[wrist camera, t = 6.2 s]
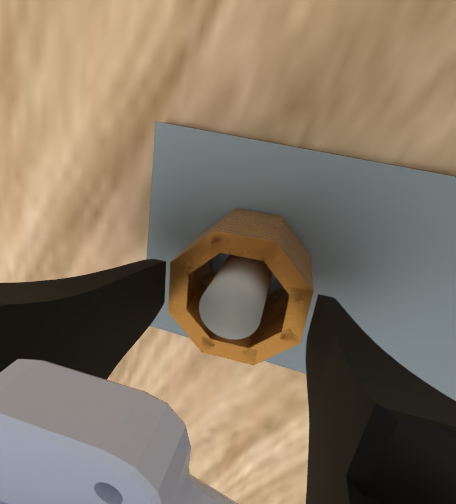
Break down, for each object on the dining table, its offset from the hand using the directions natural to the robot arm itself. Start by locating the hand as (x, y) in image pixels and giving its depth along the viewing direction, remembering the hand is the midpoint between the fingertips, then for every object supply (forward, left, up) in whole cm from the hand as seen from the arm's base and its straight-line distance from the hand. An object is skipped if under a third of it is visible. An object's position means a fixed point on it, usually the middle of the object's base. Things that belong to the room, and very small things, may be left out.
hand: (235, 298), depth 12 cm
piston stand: (-3, 0, -5) cm, 6 cm away
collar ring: (0, 0, -4) cm, 4 cm away
